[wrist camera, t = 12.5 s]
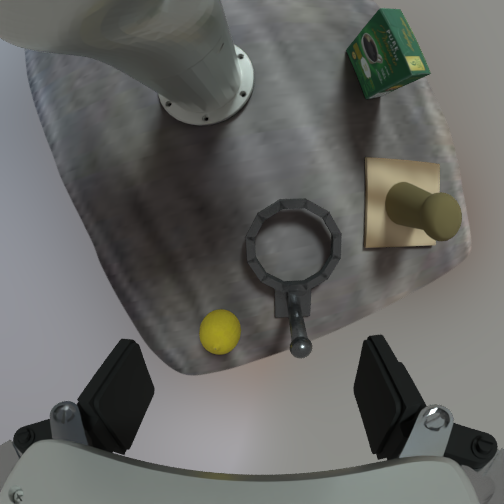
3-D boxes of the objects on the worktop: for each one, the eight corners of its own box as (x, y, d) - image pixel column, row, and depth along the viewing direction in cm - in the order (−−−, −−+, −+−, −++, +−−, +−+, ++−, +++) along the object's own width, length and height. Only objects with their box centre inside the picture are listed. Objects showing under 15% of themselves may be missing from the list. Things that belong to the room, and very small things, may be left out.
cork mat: (364, 157, 32) (367, 157, 31) (436, 163, 31) (439, 164, 30) (363, 246, 35) (365, 247, 34) (432, 243, 34) (435, 245, 34)
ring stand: (245, 199, 34) (233, 215, 22) (335, 196, 33) (370, 212, 22) (252, 316, 39) (246, 373, 27) (331, 312, 38) (352, 366, 27)
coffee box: (383, 99, 29) (434, 74, 16) (365, 102, 29) (412, 74, 17) (362, 48, 27) (400, 6, 14) (344, 50, 27) (377, 5, 15)
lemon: (198, 310, 39) (184, 341, 32) (228, 293, 38) (219, 323, 31) (220, 337, 41) (211, 370, 33) (250, 321, 40) (246, 355, 32)
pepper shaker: (424, 219, 33) (470, 239, 22) (389, 230, 34) (431, 256, 23) (416, 177, 31) (465, 185, 21) (380, 187, 32) (424, 197, 21)
